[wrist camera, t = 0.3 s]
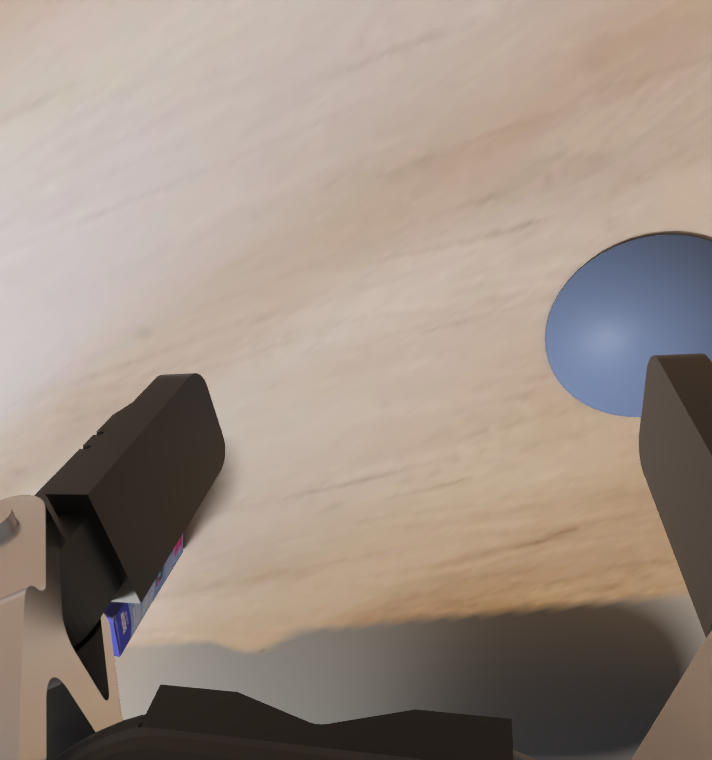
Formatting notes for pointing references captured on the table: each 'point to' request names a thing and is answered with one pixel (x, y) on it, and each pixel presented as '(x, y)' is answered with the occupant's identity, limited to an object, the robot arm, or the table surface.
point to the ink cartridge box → (137, 606)
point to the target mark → (630, 318)
